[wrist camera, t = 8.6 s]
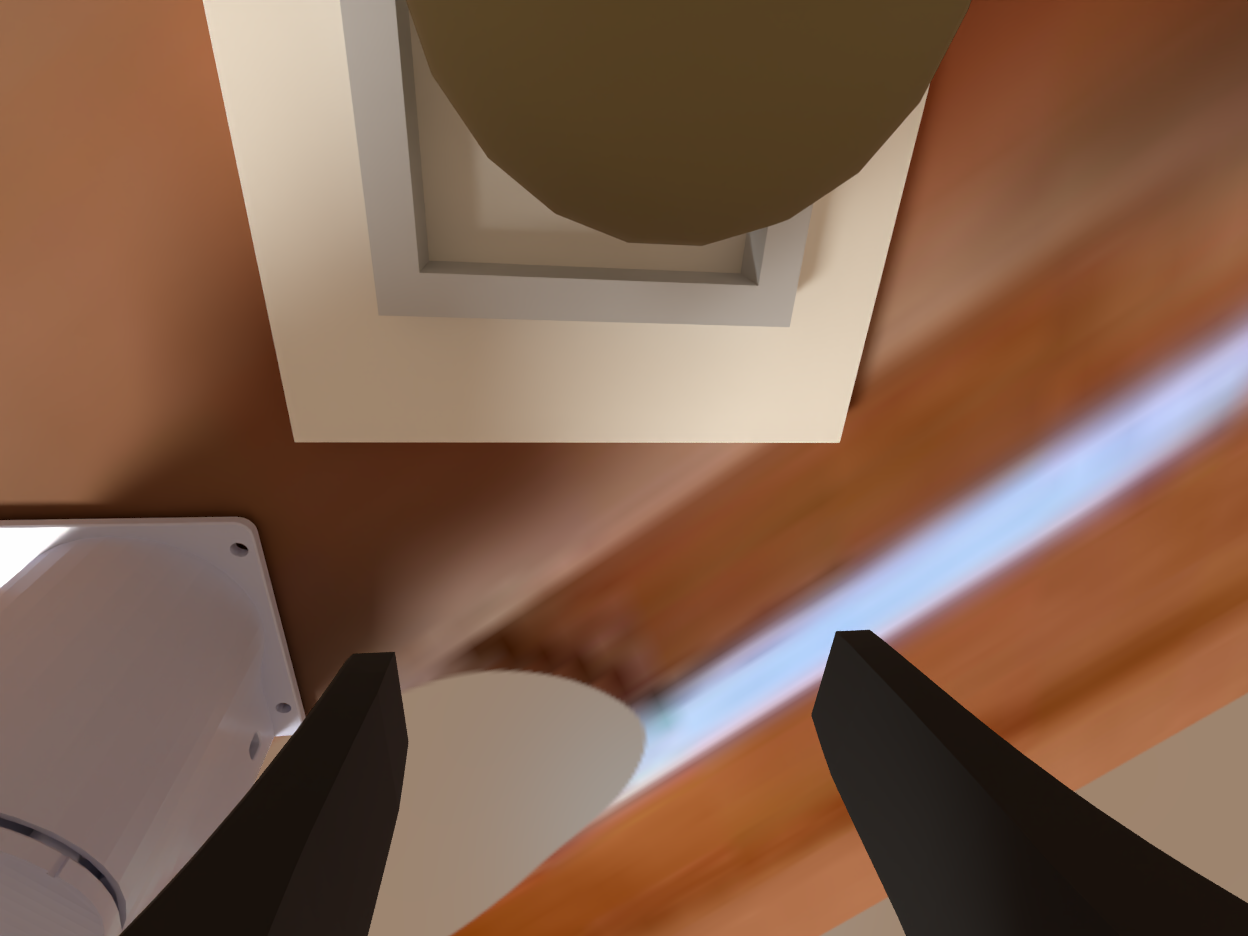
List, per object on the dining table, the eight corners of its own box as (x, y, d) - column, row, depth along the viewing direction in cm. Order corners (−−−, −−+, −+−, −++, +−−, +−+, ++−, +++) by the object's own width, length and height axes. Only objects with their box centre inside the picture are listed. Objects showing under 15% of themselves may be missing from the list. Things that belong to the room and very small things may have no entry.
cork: (727, -141, 12) (1370, -1034, 3) (730, 186, 15) (1054, 279, 6) (424, -117, 12) (6, -1065, 2) (487, 215, 15) (407, 365, 5)
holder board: (823, 426, 20) (861, 465, 18) (308, 424, 18) (274, 468, 16) (1024, -423, 12) (1144, -558, 10) (105, -627, 10) (-32, -869, 7)
